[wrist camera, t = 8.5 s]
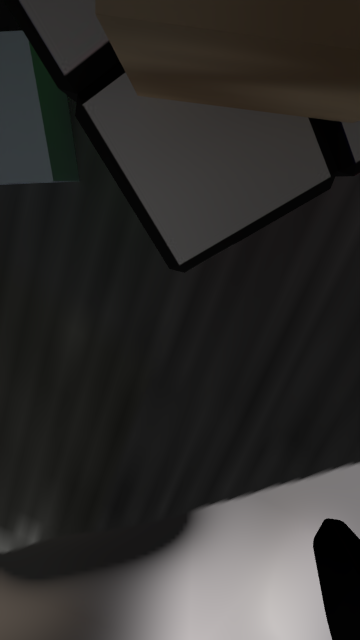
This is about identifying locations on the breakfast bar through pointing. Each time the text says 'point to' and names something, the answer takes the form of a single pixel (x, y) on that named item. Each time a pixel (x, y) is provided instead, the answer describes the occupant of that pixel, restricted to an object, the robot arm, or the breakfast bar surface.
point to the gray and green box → (32, 118)
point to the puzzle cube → (185, 143)
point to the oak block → (242, 53)
